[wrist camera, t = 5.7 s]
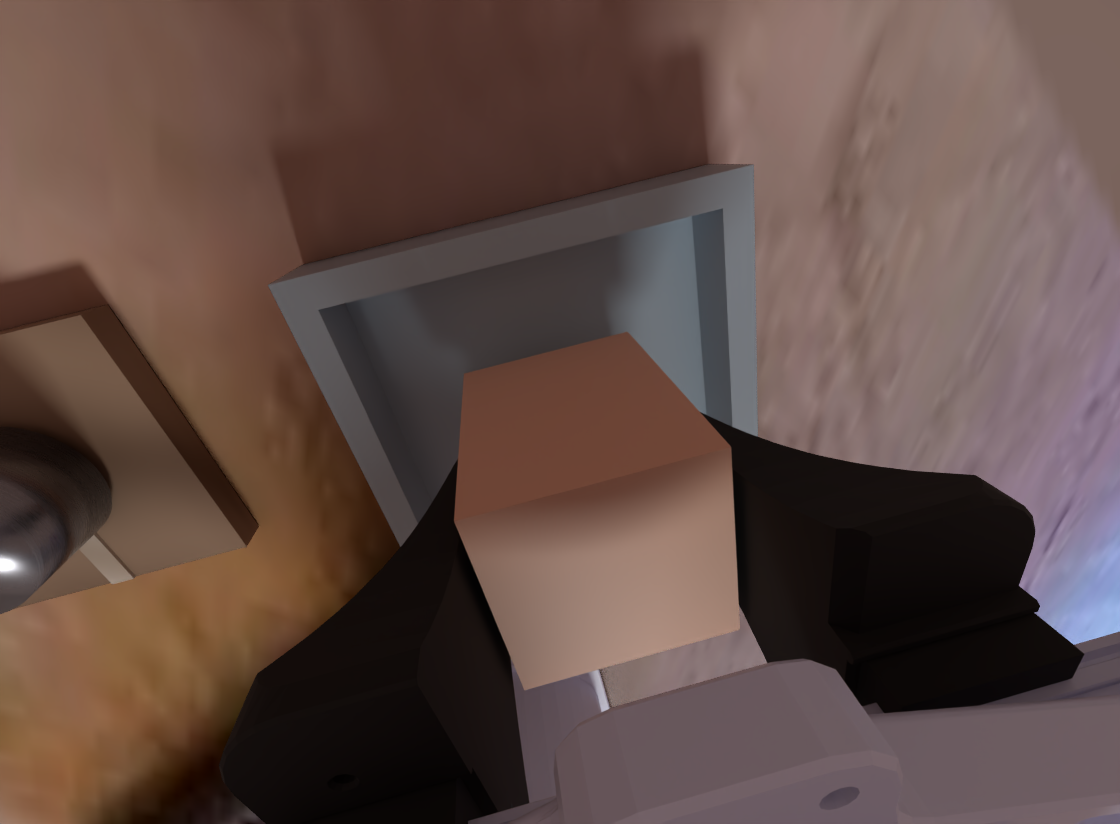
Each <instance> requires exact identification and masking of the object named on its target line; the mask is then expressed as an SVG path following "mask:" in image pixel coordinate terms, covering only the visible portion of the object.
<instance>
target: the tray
mask: <svg viewBox="0 0 1120 824" xmlns="http://www.w3.org/2000/svg"><path fill="white" fill-rule="evenodd" d="M268 286H269V288H270V290H271V292H272V294H273V296H274V298H275V300H276V302H277V304H278V306H279V308H280V310H281V312H282V314H283V316H284V318H285V320H286V322H287V324H288V326H289V328H290V330H291V332H292V334H293V336H294V338H295V340H296V342H297V344H298V346H299V348H300V350H301V352H302V354H303V356H304V357H305V359H306V361H307V363H308V365H309V367H310V369H311V371H312V373H313V375H314V377H315V379H316V381H317V383H318V385H319V387H320V389H321V391H322V393H323V395H324V397H325V399H326V401H327V403H328V405H329V407H330V409H331V411H332V413H333V415H334V417H335V419H336V421H337V423H338V425H339V427H340V429H341V431H342V433H343V435H344V436H345V438H346V440H347V442H348V444H349V446H350V448H351V450H352V452H353V454H354V456H355V458H356V460H357V462H358V464H359V466H360V468H361V470H362V472H363V474H364V476H365V478H366V480H367V482H368V484H369V486H370V488H371V490H372V492H373V494H374V496H375V498H376V500H377V502H378V504H379V506H380V508H381V510H382V512H383V513H384V515H385V517H386V519H387V521H388V523H389V525H390V527H391V529H392V531H393V533H394V535H395V537H396V539H397V541H398V543H399V545H400V547H401V546H402V545H403V543H404V542H405V541H406V540H407V538H408V537H409V536H410V534H411V533H412V532H413V530H414V529H415V527H416V526H417V524H418V523H419V521H420V520H421V519H422V517H423V516H424V514H425V513H426V511H427V510H428V508H429V506H430V505H431V503H432V502H433V500H434V498H435V497H436V495H437V493H438V492H439V490H440V488H441V487H442V485H443V483H444V481H445V480H446V478H447V476H448V474H449V473H450V471H451V469H452V467H453V466H454V464H455V462H456V461H457V459H458V454H459V439H460V424H461V409H462V394H463V379H464V374H465V373H468V372H472V371H476V370H480V369H484V368H488V367H492V366H496V365H500V364H503V363H507V362H511V361H515V360H519V359H523V358H527V357H531V356H534V355H538V354H542V353H546V352H550V351H554V350H558V349H562V348H565V347H569V346H573V345H577V344H581V343H585V342H589V341H593V340H597V339H600V338H604V337H608V336H612V335H616V334H620V333H624V332H628V333H629V334H630V335H631V336H632V337H633V338H634V339H635V340H636V341H637V343H638V344H639V345H640V346H641V347H642V348H643V349H644V350H645V351H646V353H647V354H648V355H649V356H650V357H651V358H652V359H653V360H654V361H655V363H656V364H657V365H658V366H659V367H660V368H661V369H662V370H663V372H664V373H665V374H666V375H667V376H668V377H669V378H670V379H671V380H672V382H673V383H674V384H675V385H676V386H677V387H678V388H679V389H680V390H681V392H682V393H683V394H684V395H685V396H686V397H687V398H688V399H689V401H690V402H691V403H692V404H693V405H694V406H695V407H696V408H697V409H698V411H699V412H701V413H703V414H706V415H708V416H710V417H712V418H714V419H716V420H718V421H721V422H723V423H725V424H727V425H730V426H732V427H734V428H737V429H739V430H741V431H744V432H746V433H749V434H752V435H754V436H757V437H758V419H757V353H756V286H755V220H754V164H708V165H704V166H700V167H695V168H691V169H687V170H683V171H679V172H675V173H671V174H667V175H663V176H659V177H655V178H651V179H647V180H643V181H639V182H635V183H631V184H627V185H623V186H619V187H615V188H611V189H607V190H603V191H598V192H594V193H590V194H586V195H582V196H578V197H574V198H570V199H566V200H562V201H558V202H554V203H550V204H546V205H542V206H538V207H534V208H530V209H526V210H522V211H518V212H514V213H510V214H506V215H501V216H497V217H493V218H489V219H485V220H481V221H477V222H473V223H469V224H465V225H461V226H457V227H453V228H449V229H445V230H441V231H437V232H433V233H429V234H425V235H421V236H417V237H413V238H409V239H404V240H400V241H396V242H392V243H388V244H384V245H380V246H376V247H372V248H368V249H364V250H360V251H356V252H352V253H348V254H344V255H340V256H336V257H332V258H328V259H324V260H320V261H316V262H312V263H307V264H303V265H301V266H300V267H298V268H296V269H294V270H293V271H291V272H289V273H288V274H286V275H284V276H282V277H281V278H279V279H277V280H276V281H274V282H272V283H270V284H269V285H268Z"/></svg>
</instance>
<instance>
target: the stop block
mask: <svg viewBox="0 0 1120 824" xmlns="http://www.w3.org/2000/svg"><path fill="white" fill-rule="evenodd" d="M454 523H455V525H456V527H457V530H458V532H459V535H460V537H461V539H462V542H463V544H464V547H465V549H466V551H467V554H468V556H469V559H470V561H471V563H472V566H473V568H474V571H475V573H476V575H477V578H478V580H479V583H480V585H481V587H482V590H483V592H484V595H485V597H486V599H487V602H488V604H489V607H490V609H491V611H492V614H493V616H494V619H495V621H496V623H497V626H498V628H499V631H500V633H501V635H502V638H503V640H504V643H505V645H506V647H507V650H508V652H509V655H510V657H511V659H512V662H513V664H514V667H515V669H516V671H517V674H518V676H519V679H520V681H521V683H522V686H523V688H524V690H528V689H531V688H535V687H538V686H542V685H545V684H549V683H552V682H556V681H559V680H563V679H567V678H570V677H574V676H577V675H581V674H584V673H588V672H591V671H595V670H598V669H602V668H606V667H609V666H613V665H616V664H620V663H623V662H627V661H630V660H634V659H637V658H641V657H645V656H648V655H652V654H655V653H659V652H662V651H666V650H669V649H673V648H676V647H680V646H683V645H687V644H691V643H694V642H698V641H701V640H705V639H708V638H712V637H715V636H719V635H722V634H726V633H730V632H733V631H737V630H740V621H739V600H738V579H737V558H736V537H735V517H734V496H733V475H732V454H731V446H730V445H729V444H728V443H727V442H726V441H725V440H724V438H723V437H722V436H721V435H720V434H719V433H718V432H717V431H716V429H715V428H714V427H713V426H712V425H711V424H710V423H709V422H708V421H707V419H706V418H705V417H704V416H703V415H702V414H701V413H700V412H699V411H698V409H697V408H696V407H695V406H694V405H693V404H692V403H691V402H690V401H689V399H688V398H687V397H686V396H685V395H684V394H683V393H682V392H681V390H680V389H679V388H678V387H677V386H676V385H675V384H674V383H673V382H672V380H671V379H670V378H669V377H668V376H667V375H666V374H665V373H664V372H663V370H662V369H661V368H660V367H659V366H658V365H657V364H656V363H655V361H654V360H653V359H652V358H651V357H650V356H649V355H648V354H647V353H646V351H645V350H644V349H643V348H642V347H641V346H640V345H639V344H638V343H637V341H636V340H635V339H634V338H633V337H632V336H631V335H630V334H629V333H628V332H624V333H620V334H616V335H612V336H608V337H604V338H600V339H597V340H593V341H589V342H585V343H581V344H577V345H573V346H569V347H565V348H562V349H558V350H554V351H550V352H546V353H542V354H538V355H534V356H531V357H527V358H523V359H519V360H515V361H511V362H507V363H503V364H500V365H496V366H492V367H488V368H484V369H480V370H476V371H472V372H468V373H465V374H464V379H463V394H462V409H461V424H460V439H459V454H458V469H457V484H456V499H455V514H454Z"/></svg>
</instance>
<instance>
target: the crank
mask: <svg viewBox="0 0 1120 824" xmlns="http://www.w3.org/2000/svg"><path fill="white" fill-rule="evenodd" d="M111 509H112V496H111V492H110V489H109V487H108V484H107V482H106V480H105V479H104V477H103V476H102V474H101V473H100V472H99V471H98V469H97V468H96V467H95V466H94V465H93V464H92V463H91V462H90V461H89V460H88V459H86V458H85V457H84V456H83V455H82V454H80V453H79V452H77V451H76V450H74V449H73V448H71V447H69V446H68V445H66V444H64V443H62V442H60V441H58V440H56V439H53V438H51V437H49V436H46V435H43V434H40V433H37V432H33V431H29V430H26V429H20V428H14V427H4V426H0V614H2V613H4V612H7V611H10V610H12V609H14V608H16V607H18V606H19V605H21V604H22V603H24V602H25V601H26V600H27V599H28V598H29V597H30V596H31V595H32V594H33V593H34V592H35V591H37V590H38V589H39V588H40V587H41V586H42V585H43V584H44V583H45V582H46V581H47V580H48V579H49V578H50V577H51V576H52V575H53V574H54V573H55V572H56V571H57V570H58V569H59V568H60V567H61V566H62V565H63V564H64V563H65V562H66V561H67V560H68V559H69V558H71V557H72V556H73V555H74V554H75V553H76V552H77V551H78V550H79V549H80V548H81V547H82V546H83V545H84V544H85V543H86V542H87V541H88V540H89V539H90V538H91V537H92V536H93V535H94V534H95V533H96V532H97V531H98V530H99V529H100V528H101V527H102V526H103V525H104V524H105V523H106V521H107V520H108V518H109V516H110V513H111Z"/></svg>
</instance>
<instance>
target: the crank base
mask: <svg viewBox="0 0 1120 824" xmlns="http://www.w3.org/2000/svg"><path fill="white" fill-rule="evenodd" d="M0 426H4V427H14V428H20V429H26V430H29V431H33V432H37V433H40V434H43V435H46V436H49V437H51V438H53V439H56V440H58V441H60V442H62V443H64V444H66V445H68V446H69V447H71V448H73V449H74V450H76V451H77V452H79V453H80V454H82V455H83V456H84V457H85V458H86V459H88V460H89V461H90V462H91V463H92V464H93V465H94V466H95V467H96V468H97V469H98V471H99V472H100V473H101V474H102V476H103V477H104V479H105V480H106V482H107V484H108V487H109V489H110V492H111V496H112V509H111V513H110V516H109V518H108V520H107V521H106V523H105V524H104V525H103V526H102V527H101V528H100V529H99V530H98V531H97V532H96V533H95V534H94V535H93V536H92V537H91V538H90V539H89V540H88V541H87V542H86V543H85V544H84V545H83V546H82V547H81V548H80V549H79V550H78V551H77V552H76V553H75V554H74V555H73V556H72V557H71V558H69V559H68V560H67V561H66V562H65V563H64V564H63V565H62V566H61V567H60V568H59V569H58V570H57V571H56V572H55V573H54V574H53V575H52V576H51V577H50V578H49V579H48V580H47V581H46V582H45V583H44V584H43V585H42V586H41V587H40V588H39V589H38V590H37V591H35V592H34V593H33V594H32V595H31V596H30V597H29V598H28V599H27V600H26V601H25V602H24V603H22V604H21V605H19V606H18V607H16V608H19V607H22V606H26V605H30V604H34V603H37V602H41V601H45V600H49V599H52V598H56V597H60V596H64V595H67V594H71V593H75V592H79V591H82V590H86V589H90V588H94V587H97V586H101V585H105V584H109V583H111V584H115V583H119V582H123V581H127V580H130V579H134V578H135V577H136V576H139V575H142V574H146V573H150V572H154V571H157V570H161V569H165V568H169V567H172V566H176V565H180V564H184V563H187V562H191V561H195V560H199V559H202V558H206V557H210V556H214V555H217V554H221V553H225V552H229V551H232V550H236V549H240V548H244V547H247V545H248V544H249V542H250V540H251V539H252V537H253V535H254V534H255V532H256V530H257V529H258V527H259V526H258V525H257V523H256V522H255V520H254V519H253V517H252V516H251V514H250V513H249V511H248V510H247V508H246V507H245V505H244V504H243V503H242V501H241V500H240V498H239V497H238V495H237V494H236V492H235V491H234V489H233V488H232V486H231V485H230V483H229V482H228V481H227V479H226V478H225V476H224V475H223V473H222V472H221V470H220V469H219V467H218V466H217V464H216V463H215V461H214V460H213V459H212V457H211V456H210V454H209V453H208V451H207V450H206V448H205V447H204V445H203V444H202V442H201V441H200V439H199V438H198V437H197V435H196V434H195V432H194V431H193V429H192V428H191V426H190V425H189V423H188V422H187V420H186V419H185V417H184V416H183V414H182V413H181V412H180V410H179V409H178V407H177V406H176V404H175V403H174V401H173V400H172V398H171V397H170V395H169V394H168V392H167V391H166V390H165V388H164V387H163V385H162V384H161V382H160V381H159V379H158V378H157V376H156V375H155V373H154V372H153V370H152V369H151V368H150V366H149V365H148V363H147V362H146V360H145V359H144V357H143V356H142V354H141V353H140V351H139V350H138V348H137V347H136V346H135V344H134V343H133V341H132V340H131V338H130V337H129V335H128V334H127V332H126V331H125V329H124V328H123V326H122V325H121V323H120V322H119V321H118V319H117V318H116V316H115V315H114V313H113V312H112V310H111V309H110V307H109V306H108V305H104V306H100V307H96V308H92V309H88V310H84V311H80V312H76V313H72V314H68V315H64V316H59V317H55V318H51V319H47V320H43V321H39V322H35V323H31V324H27V325H23V326H19V327H15V328H11V329H7V330H3V331H0ZM14 609H15V608H14Z"/></svg>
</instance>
